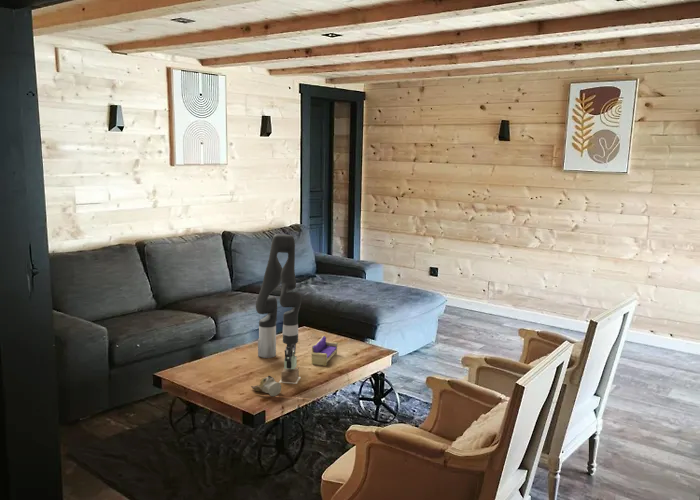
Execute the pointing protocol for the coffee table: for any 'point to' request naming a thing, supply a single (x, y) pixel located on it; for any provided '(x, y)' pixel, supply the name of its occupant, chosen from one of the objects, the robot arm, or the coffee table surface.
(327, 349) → the toy sofa
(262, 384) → the ceramic sculpture
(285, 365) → the sage cube
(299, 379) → the mat
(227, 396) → the coffee table surface
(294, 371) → the walnut base block
